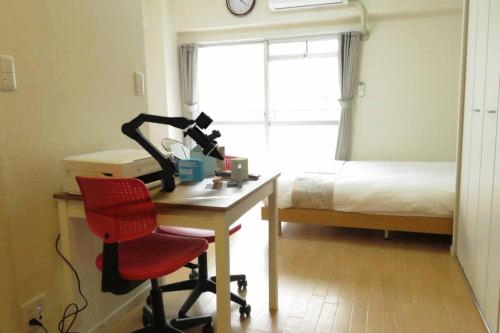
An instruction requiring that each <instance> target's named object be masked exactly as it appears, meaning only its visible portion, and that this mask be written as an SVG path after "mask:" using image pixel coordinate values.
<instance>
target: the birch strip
mask: <svg viewBox="0 0 500 333" xmlns="http://www.w3.org/2000/svg"><path fill="white" fill-rule="evenodd" d="M217 150H218V152H219V153H220V154H221V155H222V157H223V158H224V160H223V161H222V160H219V159H216V162H217V172H218V173H226V172H227V168H226V167H227V166H226V147H225V145H218V146H217Z"/></svg>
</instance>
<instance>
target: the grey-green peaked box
mask: <svg viewBox="0 0 500 333" xmlns="http://www.w3.org/2000/svg"><path fill="white" fill-rule="evenodd" d="M208 154H209V153H208ZM208 154H207V155H206V156H205V155H204V154H203V148H201V147H200V146H199V145H197V144H196V145H195V146H194V147H193V148H192V149H190V150H189V159H202V161H203V172H204V178H206V177H211V176H216V175H215V173H214V171H217V162H216V158H213V157H211V156H208Z"/></svg>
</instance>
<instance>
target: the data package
mask: <svg viewBox="0 0 500 333" xmlns="http://www.w3.org/2000/svg"><path fill="white" fill-rule="evenodd" d="M177 162H178V163H177V164H178V178H179V182H180V183H181V182H203V181H204V180H205V177H204V172H203V161H202V159H190V158H183V159H180V160H179V161H177Z"/></svg>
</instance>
